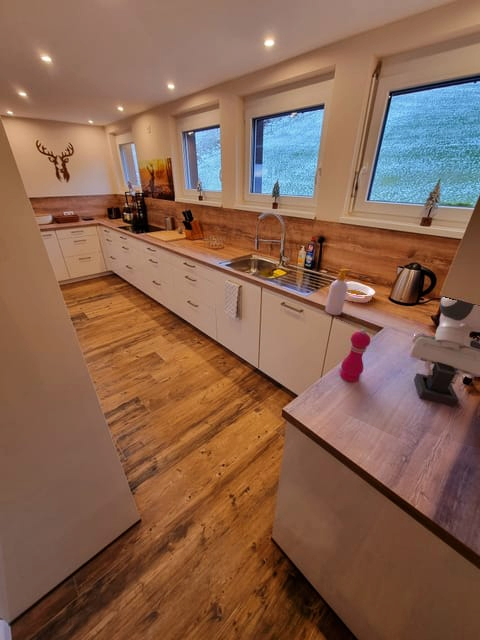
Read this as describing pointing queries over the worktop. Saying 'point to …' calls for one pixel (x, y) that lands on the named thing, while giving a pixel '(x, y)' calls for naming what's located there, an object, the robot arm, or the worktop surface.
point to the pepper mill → (355, 357)
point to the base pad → (425, 394)
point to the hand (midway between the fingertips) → (440, 379)
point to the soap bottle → (337, 294)
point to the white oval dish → (360, 288)
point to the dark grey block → (440, 378)
